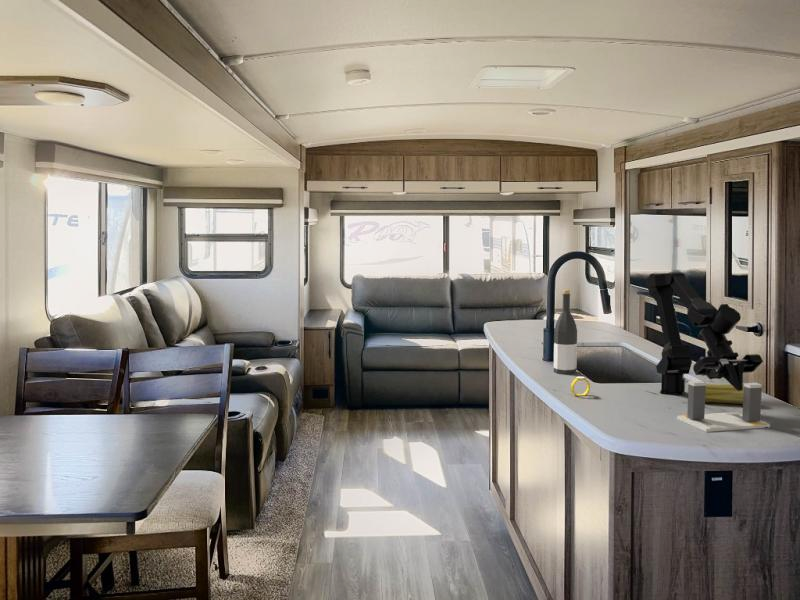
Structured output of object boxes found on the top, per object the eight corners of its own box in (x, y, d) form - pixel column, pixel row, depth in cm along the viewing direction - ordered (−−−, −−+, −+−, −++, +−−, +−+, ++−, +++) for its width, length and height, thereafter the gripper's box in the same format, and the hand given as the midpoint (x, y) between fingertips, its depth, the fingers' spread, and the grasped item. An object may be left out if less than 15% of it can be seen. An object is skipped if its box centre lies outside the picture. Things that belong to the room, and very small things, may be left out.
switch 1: (687, 417, 200) (688, 381, 199) (698, 416, 201) (700, 380, 200) (692, 419, 198) (694, 383, 197) (704, 418, 198) (705, 382, 197)
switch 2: (742, 419, 197) (744, 383, 196) (753, 418, 198) (755, 382, 197) (748, 422, 195) (750, 385, 194) (760, 421, 196) (761, 384, 195)
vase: (746, 381, 220) (695, 380, 224) (749, 387, 214) (697, 386, 218) (745, 400, 221) (694, 399, 225) (749, 407, 215) (696, 406, 219)
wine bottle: (554, 374, 262) (555, 290, 259) (553, 369, 270) (554, 288, 266) (577, 374, 260) (578, 291, 257) (575, 370, 268) (577, 288, 265)
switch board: (677, 418, 203) (677, 415, 203) (737, 414, 206) (738, 411, 206) (705, 431, 190) (706, 428, 190) (769, 427, 194) (770, 423, 194)
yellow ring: (574, 398, 228) (573, 379, 227) (570, 396, 231) (569, 377, 230) (591, 395, 229) (590, 377, 229) (587, 393, 232) (586, 375, 231)
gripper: (732, 357, 218) (755, 403, 209) (675, 360, 214) (696, 407, 205) (751, 336, 209) (776, 382, 200) (693, 338, 206) (715, 386, 196)
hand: (740, 390), depth 200 cm, fingers closed
